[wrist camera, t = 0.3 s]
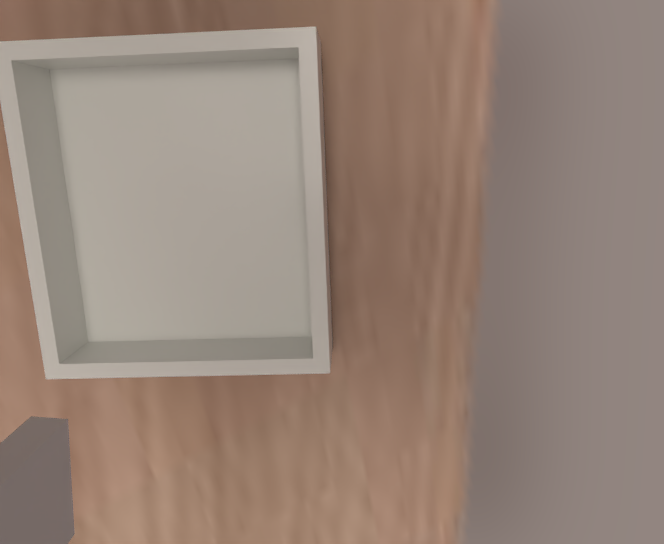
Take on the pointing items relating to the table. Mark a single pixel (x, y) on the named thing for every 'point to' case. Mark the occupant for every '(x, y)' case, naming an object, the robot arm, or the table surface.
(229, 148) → the tray
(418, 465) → the table surface
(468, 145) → the table surface
